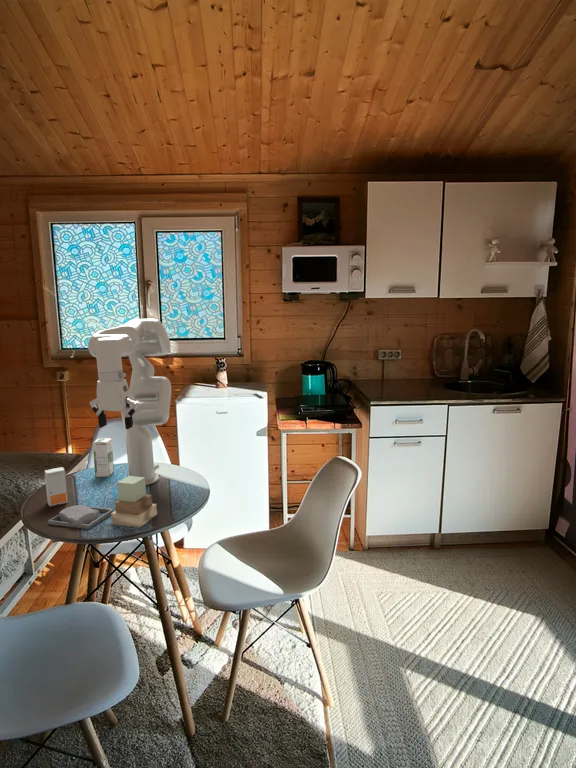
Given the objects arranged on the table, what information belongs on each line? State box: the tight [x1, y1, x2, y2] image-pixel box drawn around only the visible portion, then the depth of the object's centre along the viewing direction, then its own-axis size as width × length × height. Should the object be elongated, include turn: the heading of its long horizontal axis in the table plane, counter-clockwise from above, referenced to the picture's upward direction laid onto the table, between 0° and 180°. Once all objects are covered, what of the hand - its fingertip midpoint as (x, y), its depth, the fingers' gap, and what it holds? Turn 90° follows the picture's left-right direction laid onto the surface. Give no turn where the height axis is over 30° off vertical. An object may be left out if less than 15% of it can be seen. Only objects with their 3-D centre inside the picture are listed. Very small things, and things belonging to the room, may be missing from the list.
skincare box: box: [44, 466, 69, 507], centre depth 176 cm, size 6×4×12 cm
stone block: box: [58, 504, 100, 528], centre depth 164 cm, size 12×5×10 cm
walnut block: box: [114, 493, 153, 515], centre depth 161 cm, size 8×8×4 cm
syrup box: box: [92, 437, 115, 478], centre depth 204 cm, size 6×6×14 cm
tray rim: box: [47, 504, 115, 530], centre depth 164 cm, size 12×15×1 cm
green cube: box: [116, 475, 147, 502], centre depth 161 cm, size 6×6×6 cm
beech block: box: [110, 503, 158, 528], centre depth 162 cm, size 10×10×4 cm
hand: (116, 427), depth 167 cm, fingers open, 9 cm apart
